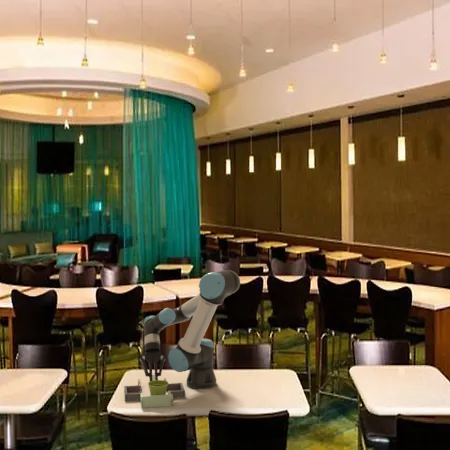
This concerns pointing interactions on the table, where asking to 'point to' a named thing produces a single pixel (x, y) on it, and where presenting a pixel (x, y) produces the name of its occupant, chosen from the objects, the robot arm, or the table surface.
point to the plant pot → (158, 387)
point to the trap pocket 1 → (132, 393)
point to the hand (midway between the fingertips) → (154, 389)
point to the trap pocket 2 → (176, 390)
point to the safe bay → (156, 400)
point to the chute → (140, 384)
